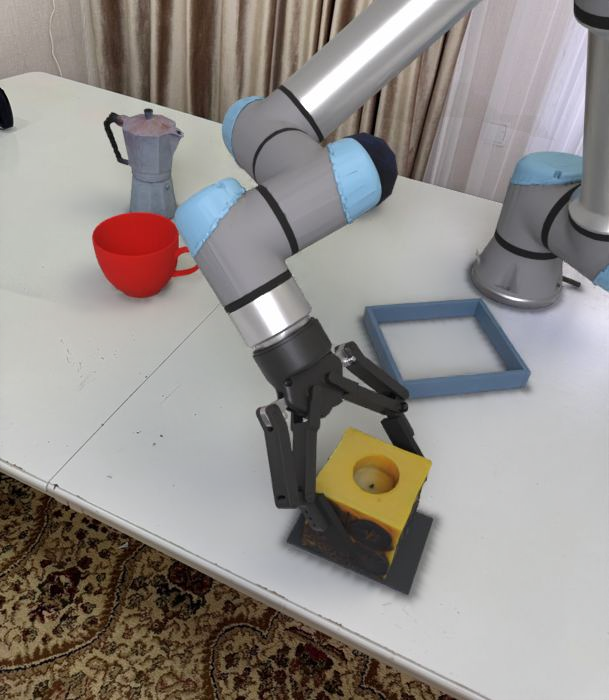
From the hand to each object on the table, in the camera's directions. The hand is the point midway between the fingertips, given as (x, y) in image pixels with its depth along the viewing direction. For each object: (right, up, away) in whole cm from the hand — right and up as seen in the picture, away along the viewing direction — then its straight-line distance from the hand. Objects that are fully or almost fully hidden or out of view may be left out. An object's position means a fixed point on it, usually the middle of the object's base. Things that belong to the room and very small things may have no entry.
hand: (384, 506), depth 65 cm
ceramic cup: (-33, +26, +37) cm, 56 cm away
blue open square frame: (+12, +16, +29) cm, 35 cm away
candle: (-2, -4, +5) cm, 7 cm away
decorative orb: (+2, +46, +62) cm, 78 cm away
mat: (-2, -4, +5) cm, 7 cm away
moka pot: (-38, +43, +55) cm, 79 cm away
